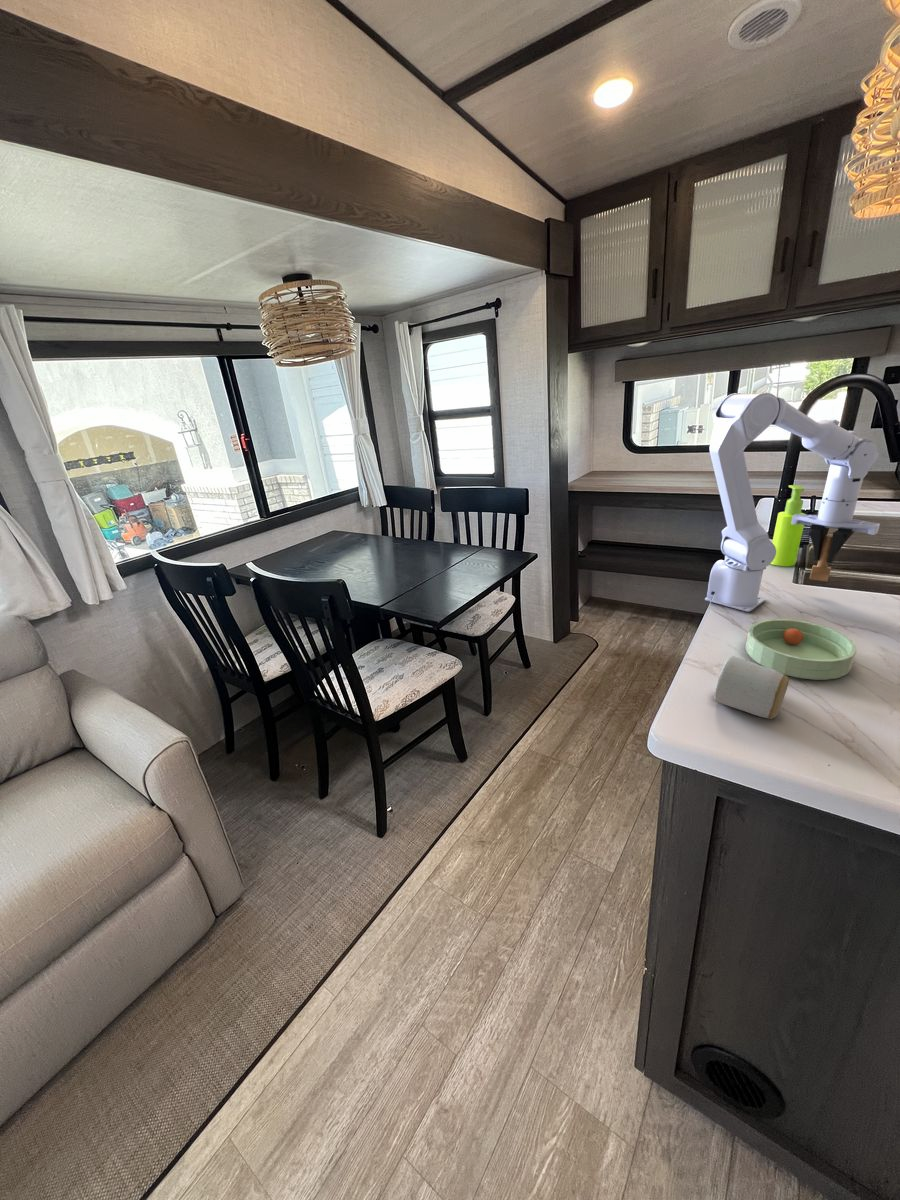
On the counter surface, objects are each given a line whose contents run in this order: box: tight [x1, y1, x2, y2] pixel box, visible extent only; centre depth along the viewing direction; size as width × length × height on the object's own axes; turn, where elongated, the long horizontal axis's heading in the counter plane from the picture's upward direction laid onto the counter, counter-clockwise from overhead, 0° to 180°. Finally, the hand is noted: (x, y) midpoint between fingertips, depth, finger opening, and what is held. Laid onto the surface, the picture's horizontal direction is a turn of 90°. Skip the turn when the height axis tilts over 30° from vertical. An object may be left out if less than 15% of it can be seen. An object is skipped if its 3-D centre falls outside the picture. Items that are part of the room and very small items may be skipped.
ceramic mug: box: [713, 655, 790, 720], centre depth 71 cm, size 11×8×8 cm
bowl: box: [745, 618, 857, 681], centre depth 82 cm, size 15×15×4 cm
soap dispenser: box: [770, 484, 807, 567], centre depth 120 cm, size 6×7×20 cm
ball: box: [783, 629, 803, 645], centre depth 86 cm, size 3×3×3 cm
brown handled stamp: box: [809, 534, 833, 582], centre depth 102 cm, size 3×2×10 cm, turn 53°
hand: (823, 560), depth 102 cm, fingers closed on brown handled stamp, 2 cm apart
